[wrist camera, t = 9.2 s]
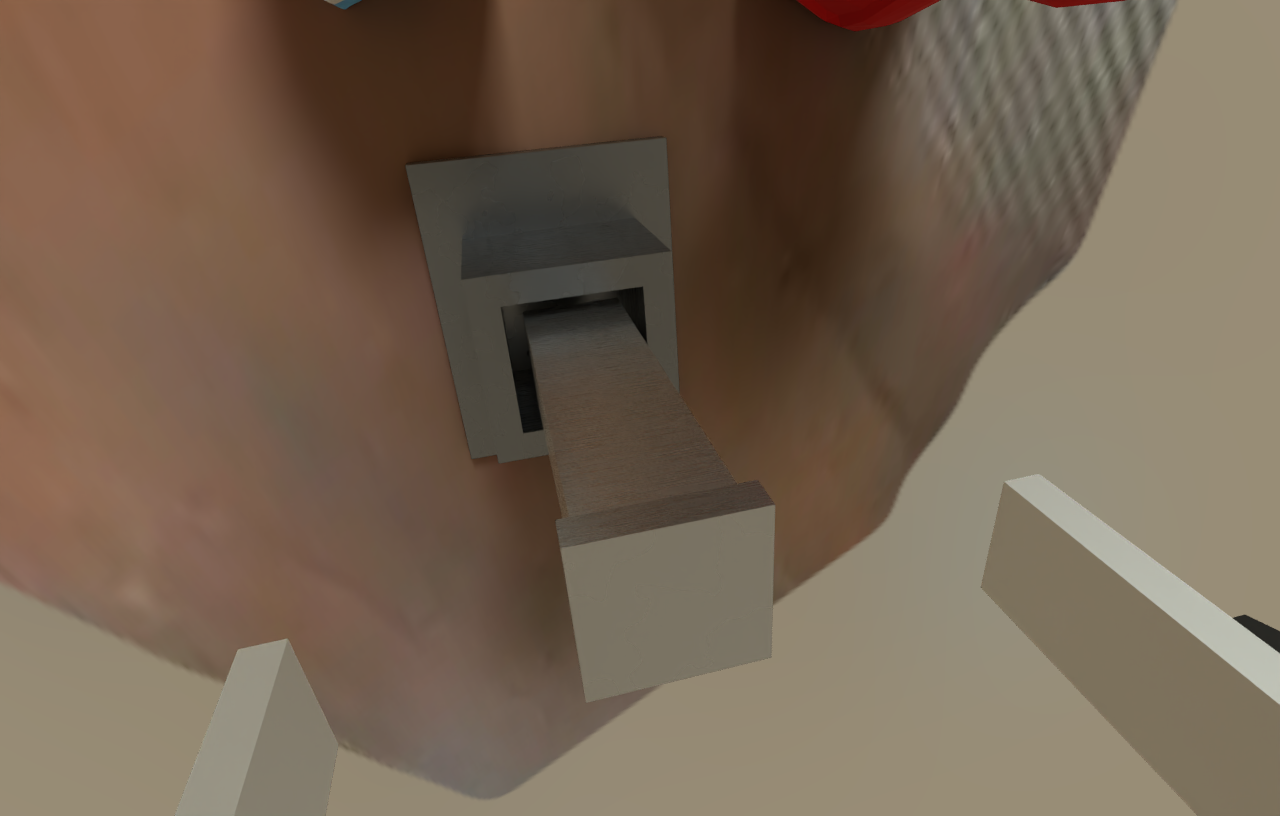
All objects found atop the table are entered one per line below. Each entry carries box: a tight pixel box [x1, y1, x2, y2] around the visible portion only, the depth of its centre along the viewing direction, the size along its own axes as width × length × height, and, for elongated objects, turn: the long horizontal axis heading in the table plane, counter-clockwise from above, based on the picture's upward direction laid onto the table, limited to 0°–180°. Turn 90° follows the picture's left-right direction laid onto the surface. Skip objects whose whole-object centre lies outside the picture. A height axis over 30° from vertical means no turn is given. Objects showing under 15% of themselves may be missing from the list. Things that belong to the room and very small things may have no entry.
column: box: [523, 298, 775, 703], centre depth 27 cm, size 6×6×19 cm
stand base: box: [405, 136, 680, 463], centre depth 37 cm, size 18×14×10 cm
